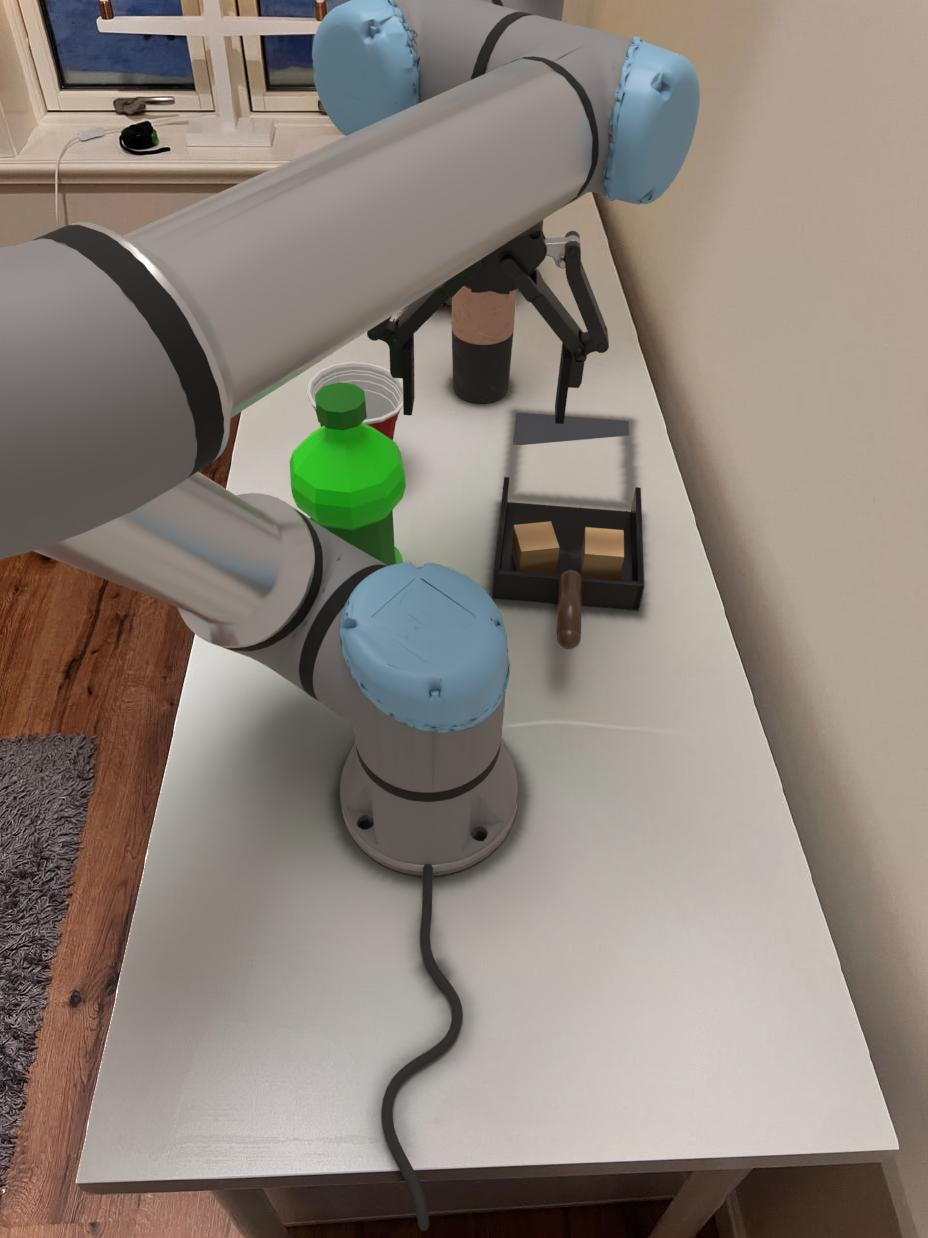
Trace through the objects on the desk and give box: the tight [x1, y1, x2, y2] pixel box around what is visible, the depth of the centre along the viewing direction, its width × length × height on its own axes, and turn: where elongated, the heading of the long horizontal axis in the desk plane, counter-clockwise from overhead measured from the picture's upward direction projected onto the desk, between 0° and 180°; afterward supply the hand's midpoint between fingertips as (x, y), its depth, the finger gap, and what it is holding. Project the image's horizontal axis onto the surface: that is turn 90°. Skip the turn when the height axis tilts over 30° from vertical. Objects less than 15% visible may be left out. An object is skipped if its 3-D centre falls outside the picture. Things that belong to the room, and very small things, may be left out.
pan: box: [491, 476, 645, 651], centre depth 96 cm, size 26×15×8 cm, turn 174°
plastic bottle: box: [289, 382, 406, 566], centre depth 88 cm, size 10×10×25 cm
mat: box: [512, 412, 630, 446], centre depth 114 cm, size 16×14×1 cm
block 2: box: [581, 527, 624, 580], centre depth 99 cm, size 4×4×4 cm
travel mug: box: [451, 286, 517, 404], centre depth 115 cm, size 8×8×20 cm
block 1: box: [512, 521, 560, 575], centre depth 99 cm, size 4×4×4 cm
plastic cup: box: [306, 361, 403, 441], centre depth 106 cm, size 11×11×12 cm
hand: (484, 411), depth 86 cm, fingers open, 13 cm apart
